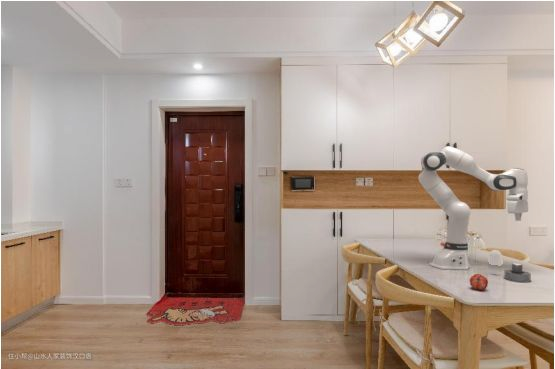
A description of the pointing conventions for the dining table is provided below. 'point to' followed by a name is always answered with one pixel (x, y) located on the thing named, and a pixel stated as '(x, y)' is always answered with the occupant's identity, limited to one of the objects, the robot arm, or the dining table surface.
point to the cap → (516, 268)
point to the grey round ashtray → (517, 276)
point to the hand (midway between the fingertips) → (518, 220)
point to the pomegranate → (478, 282)
